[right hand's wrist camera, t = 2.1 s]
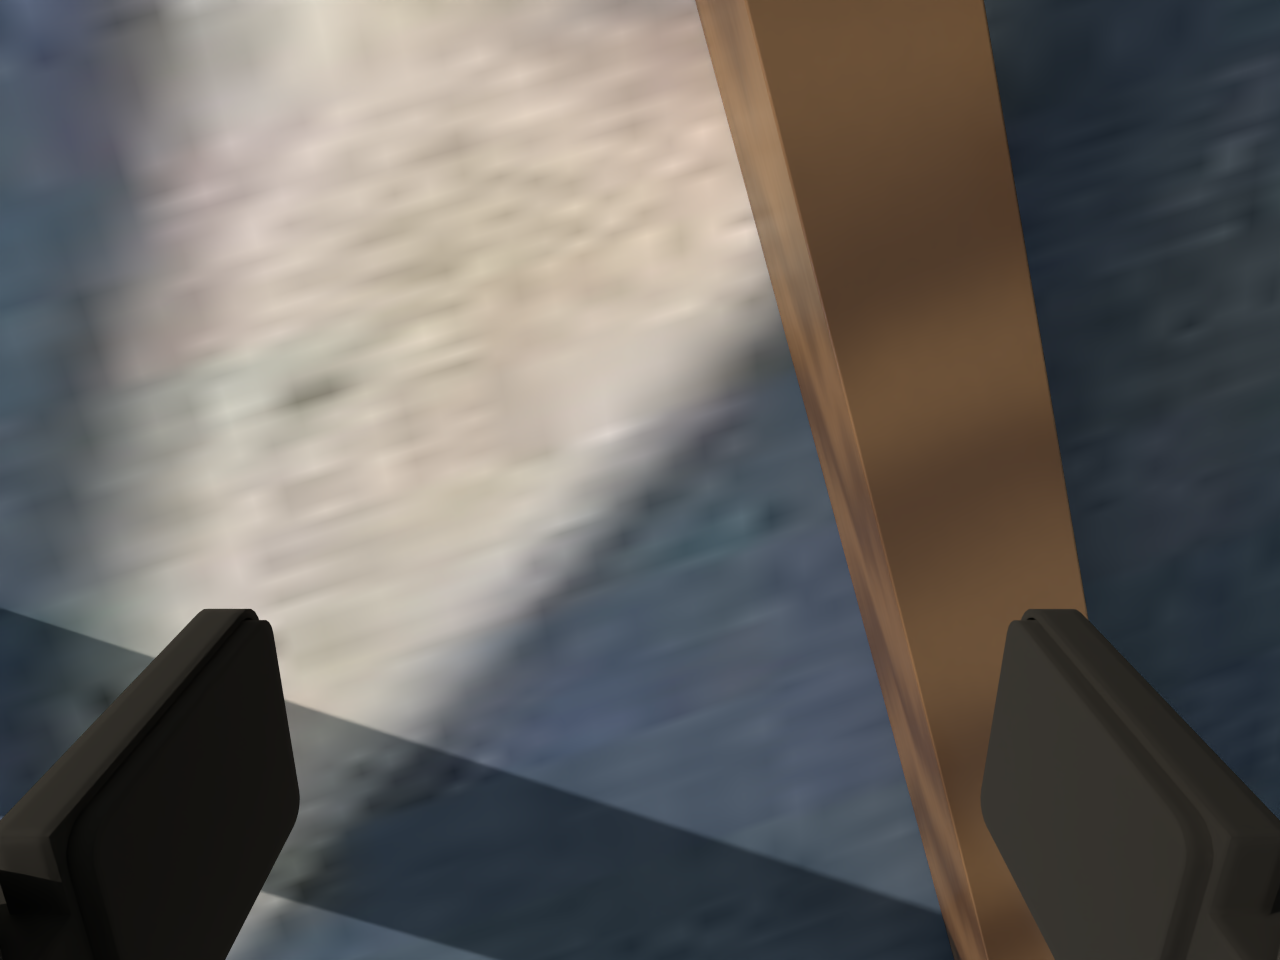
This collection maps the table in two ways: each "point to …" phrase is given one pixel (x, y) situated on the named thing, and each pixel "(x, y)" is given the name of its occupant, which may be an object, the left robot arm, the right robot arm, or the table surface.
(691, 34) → the table surface
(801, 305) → the post
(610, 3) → the table surface
